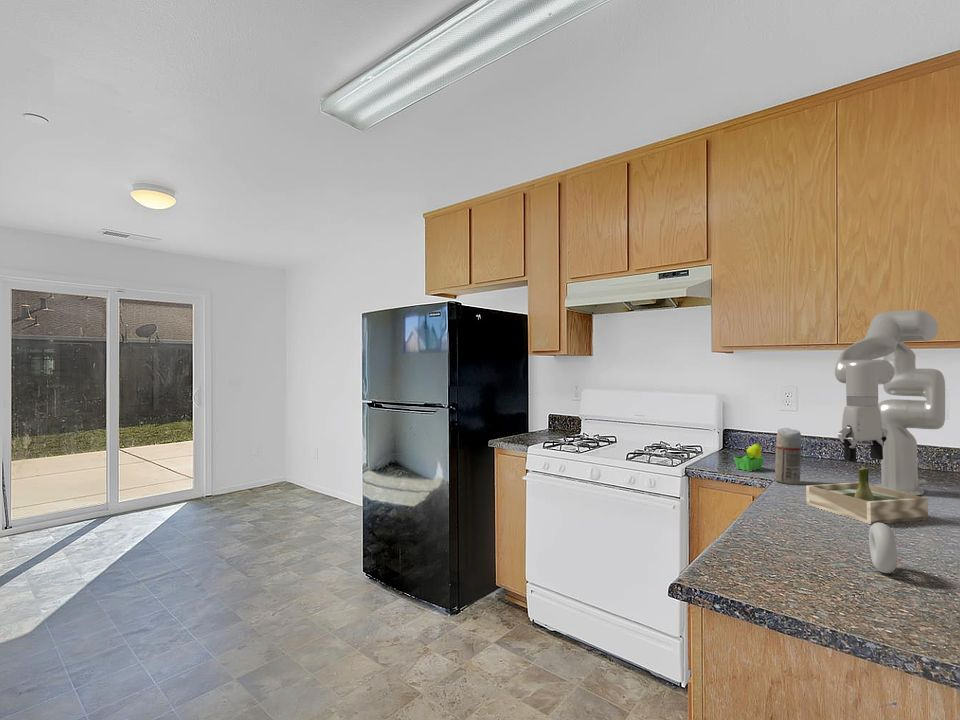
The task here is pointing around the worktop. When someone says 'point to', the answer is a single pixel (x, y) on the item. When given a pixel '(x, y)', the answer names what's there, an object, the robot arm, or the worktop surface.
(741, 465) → the fruit basket
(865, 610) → the worktop surface
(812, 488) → the open wooden box
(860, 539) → the worktop surface
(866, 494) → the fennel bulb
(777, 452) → the spray can
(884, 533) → the donut
